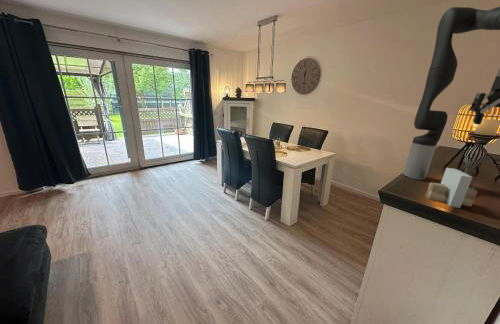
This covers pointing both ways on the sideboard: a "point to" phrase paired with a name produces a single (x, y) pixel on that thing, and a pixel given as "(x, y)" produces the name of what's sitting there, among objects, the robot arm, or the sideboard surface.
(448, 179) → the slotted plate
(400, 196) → the sideboard surface
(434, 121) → the robot arm
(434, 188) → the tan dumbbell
